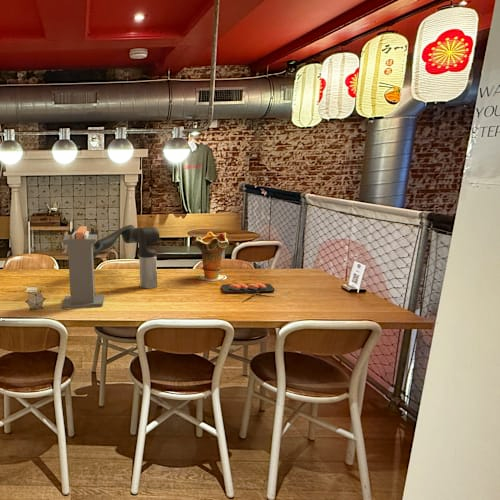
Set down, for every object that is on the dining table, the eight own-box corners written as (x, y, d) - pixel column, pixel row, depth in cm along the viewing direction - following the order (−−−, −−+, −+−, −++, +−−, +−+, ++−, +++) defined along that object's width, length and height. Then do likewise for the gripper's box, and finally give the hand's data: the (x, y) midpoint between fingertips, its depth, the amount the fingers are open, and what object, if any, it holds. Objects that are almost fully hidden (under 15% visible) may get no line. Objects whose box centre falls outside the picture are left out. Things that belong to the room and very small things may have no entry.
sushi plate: (270, 286, 241) (270, 280, 240) (282, 302, 212) (283, 295, 211) (220, 287, 236) (220, 281, 235) (226, 304, 207) (226, 296, 206)
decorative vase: (190, 280, 244) (191, 233, 240) (199, 273, 267) (200, 230, 263) (224, 283, 242) (226, 235, 238) (231, 275, 265) (232, 231, 261)
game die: (31, 316, 191) (17, 300, 189) (46, 305, 197) (32, 289, 195) (38, 311, 185) (23, 294, 183) (53, 300, 191) (39, 283, 189)
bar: (80, 232, 212) (80, 226, 211) (86, 231, 212) (86, 226, 212) (76, 239, 191) (75, 232, 190) (83, 238, 192) (82, 232, 191)
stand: (104, 295, 212) (101, 230, 206) (102, 306, 196) (99, 235, 190) (66, 298, 207) (62, 230, 201) (61, 309, 191) (56, 236, 185)
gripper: (99, 247, 225) (97, 236, 210) (71, 247, 220) (67, 237, 206) (99, 234, 227) (97, 222, 212) (71, 234, 223) (67, 223, 208)
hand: (82, 229), depth 209 cm, fingers open, 8 cm apart
